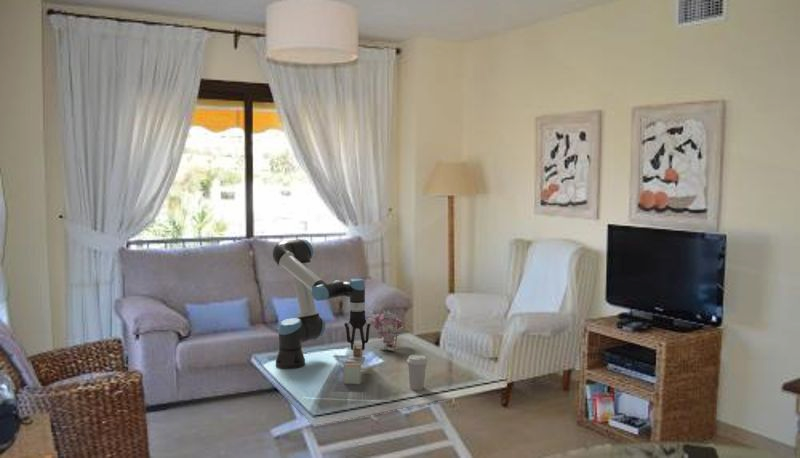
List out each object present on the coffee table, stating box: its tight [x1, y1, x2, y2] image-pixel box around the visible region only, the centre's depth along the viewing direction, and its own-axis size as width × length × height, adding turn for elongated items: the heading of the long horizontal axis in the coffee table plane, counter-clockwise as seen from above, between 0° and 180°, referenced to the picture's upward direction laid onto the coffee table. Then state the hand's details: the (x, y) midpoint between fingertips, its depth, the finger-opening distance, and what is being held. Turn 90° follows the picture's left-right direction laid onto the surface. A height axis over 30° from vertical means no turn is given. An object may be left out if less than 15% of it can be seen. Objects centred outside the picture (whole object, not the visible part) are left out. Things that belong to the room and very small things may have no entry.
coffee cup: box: [406, 354, 428, 391], centre depth 315 cm, size 10×10×15 cm
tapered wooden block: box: [345, 342, 366, 365], centre depth 332 cm, size 18×8×5 cm, turn 175°
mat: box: [333, 381, 368, 393], centre depth 315 cm, size 13×14×1 cm
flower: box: [367, 309, 409, 353], centre depth 380 cm, size 20×22×25 cm
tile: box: [343, 363, 362, 384], centre depth 319 cm, size 2×8×9 cm, turn 85°
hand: (357, 356), depth 335 cm, fingers closed on tapered wooden block, 3 cm apart
